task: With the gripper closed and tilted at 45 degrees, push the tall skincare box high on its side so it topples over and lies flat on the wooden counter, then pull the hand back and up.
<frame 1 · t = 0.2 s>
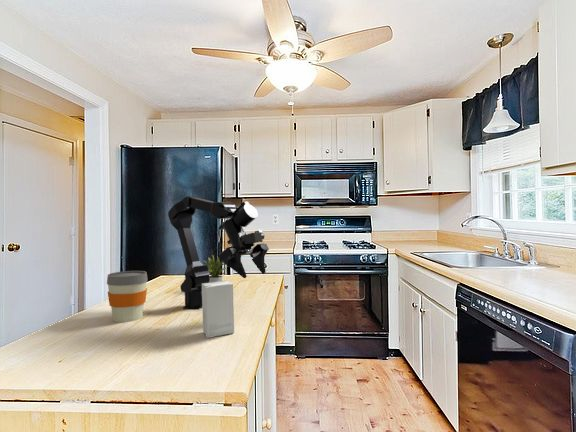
hand: (255, 275, 115), 15 cm above the counter, tool tilted 35°, fingers open, 9 cm apart
reusable coffee cup: (127, 318, 119), on the counter
house plant: (215, 291, 161), on the counter
skincare box: (218, 333, 104), on the counter
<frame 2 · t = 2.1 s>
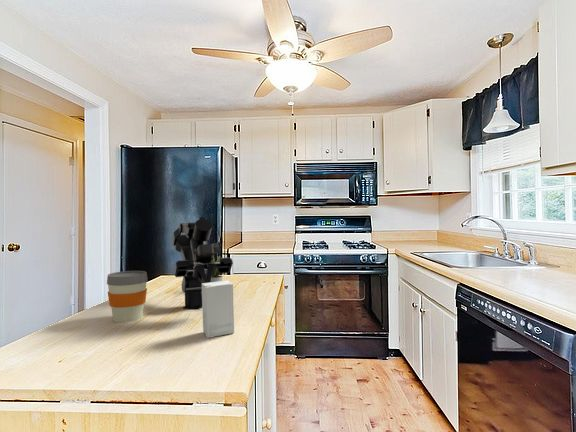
hand: (208, 287, 114), 11 cm above the counter, tool tilted 45°, fingers closed
nothing on the counter moved.
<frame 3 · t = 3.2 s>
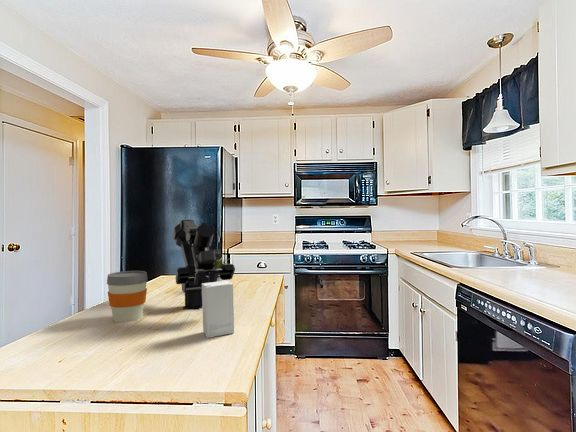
hand: (210, 295, 112), 9 cm above the counter, tool tilted 45°, fingers closed
nothing on the counter moved.
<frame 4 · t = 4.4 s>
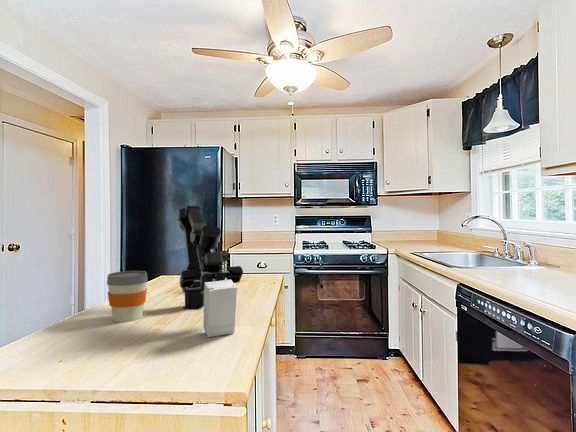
hand: (217, 299, 104), 10 cm above the counter, tool tilted 45°, fingers closed
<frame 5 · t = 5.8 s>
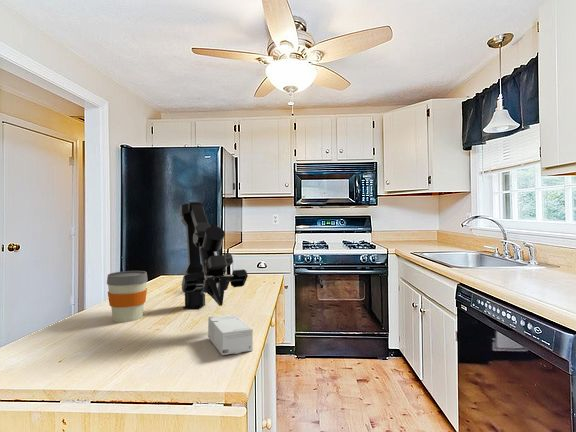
hand: (221, 304, 101), 9 cm above the counter, tool tilted 45°, fingers closed
skincare box: (220, 325, 101), point 3 cm above the counter
everything else where it was.
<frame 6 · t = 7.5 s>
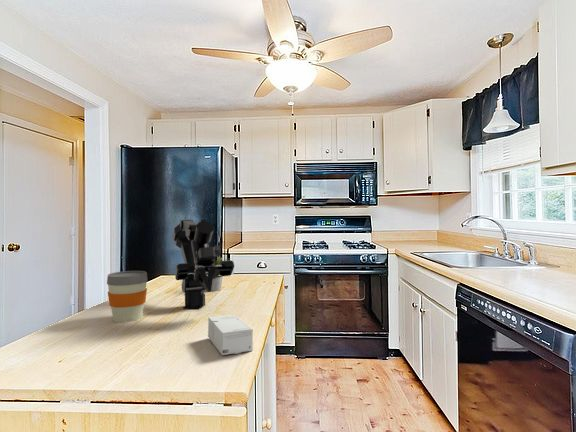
hand: (209, 291, 113), 10 cm above the counter, tool tilted 45°, fingers closed
nothing on the counter moved.
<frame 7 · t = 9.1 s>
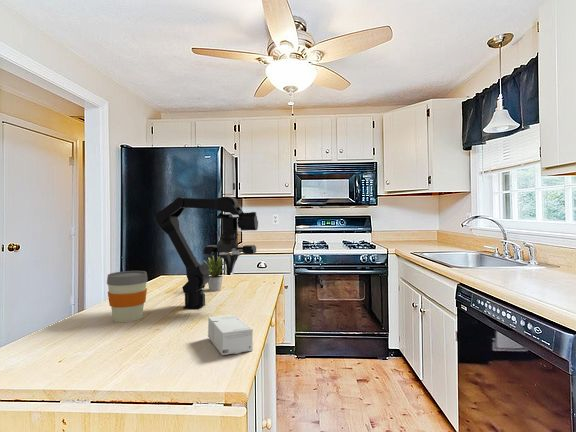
hand: (230, 272, 131), 13 cm above the counter, tool pointing down, fingers closed
nothing on the counter moved.
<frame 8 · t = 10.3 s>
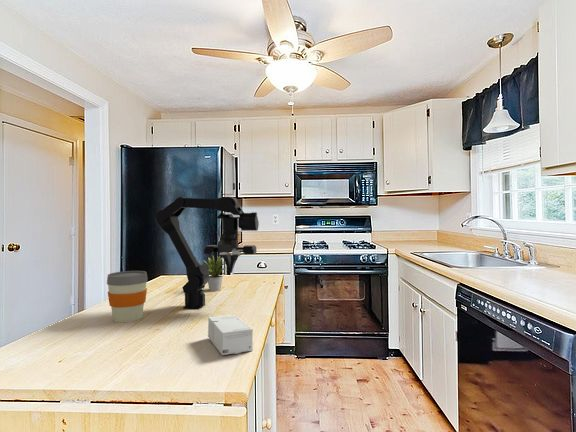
hand: (230, 272, 131), 13 cm above the counter, tool pointing down, fingers closed
nothing on the counter moved.
at the end: skincare box tilted 89°; skincare box inside the target area (3.5 cm from its centre), point 2.9 cm above the counter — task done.
